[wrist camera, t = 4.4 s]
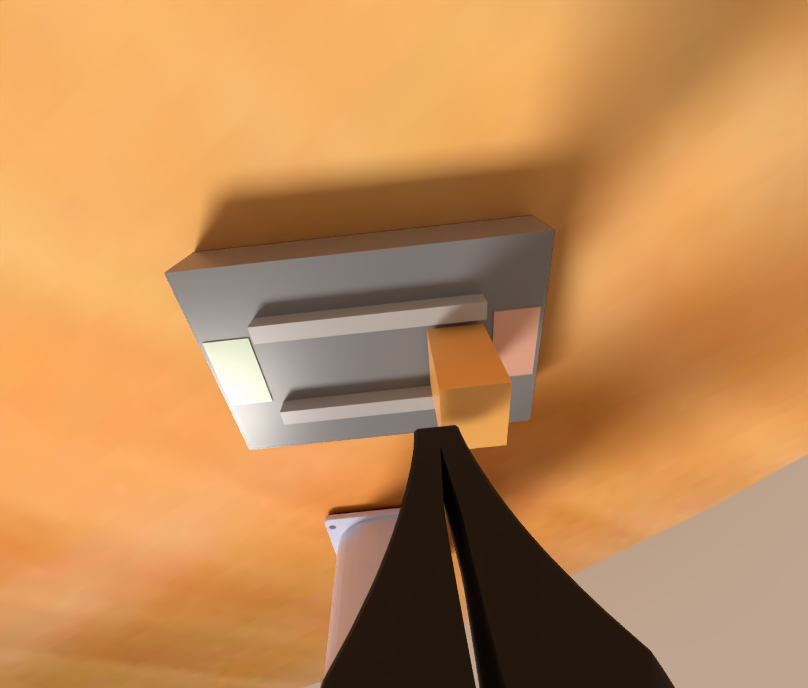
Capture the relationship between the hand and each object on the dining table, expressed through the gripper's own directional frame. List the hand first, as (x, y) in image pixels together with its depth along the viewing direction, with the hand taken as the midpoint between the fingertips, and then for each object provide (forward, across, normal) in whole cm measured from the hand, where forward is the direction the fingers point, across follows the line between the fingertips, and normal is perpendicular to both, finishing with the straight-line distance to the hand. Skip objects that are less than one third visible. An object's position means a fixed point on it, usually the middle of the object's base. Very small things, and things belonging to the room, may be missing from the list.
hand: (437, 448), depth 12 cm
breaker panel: (+8, +2, 0) cm, 8 cm away
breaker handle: (+5, -1, 0) cm, 5 cm away
